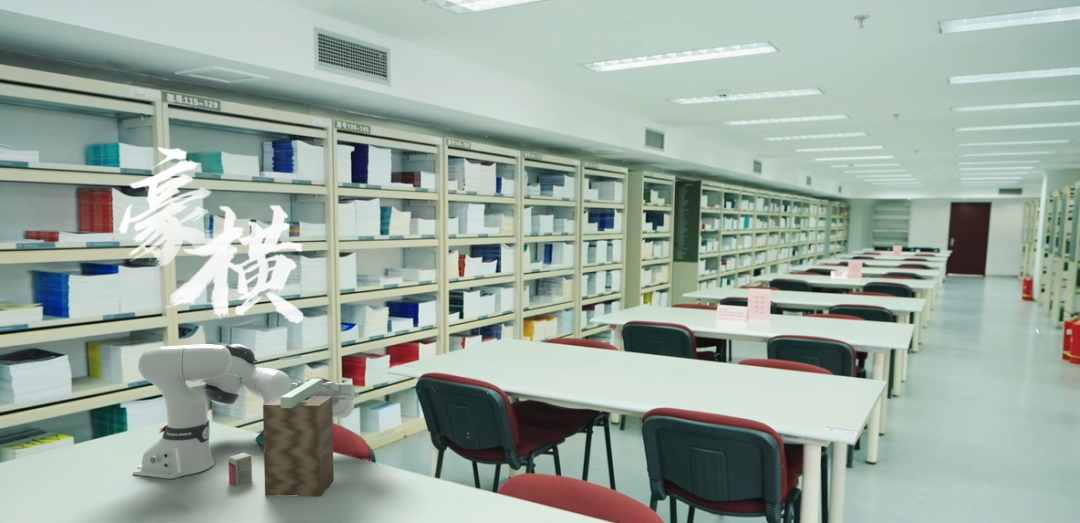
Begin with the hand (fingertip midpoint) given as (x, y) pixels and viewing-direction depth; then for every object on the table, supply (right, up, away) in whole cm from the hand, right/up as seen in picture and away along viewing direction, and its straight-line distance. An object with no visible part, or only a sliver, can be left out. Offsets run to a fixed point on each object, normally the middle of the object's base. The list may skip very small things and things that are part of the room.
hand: (313, 384), depth 193 cm
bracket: (-22, -25, +24) cm, 41 cm away
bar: (0, -2, -8) cm, 8 cm away
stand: (-1, -28, -9) cm, 30 cm away
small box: (-20, -28, -4) cm, 35 cm away
